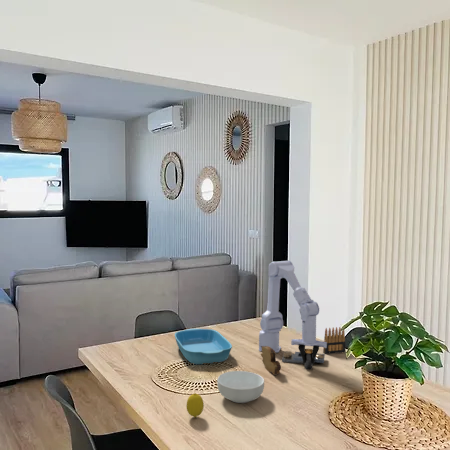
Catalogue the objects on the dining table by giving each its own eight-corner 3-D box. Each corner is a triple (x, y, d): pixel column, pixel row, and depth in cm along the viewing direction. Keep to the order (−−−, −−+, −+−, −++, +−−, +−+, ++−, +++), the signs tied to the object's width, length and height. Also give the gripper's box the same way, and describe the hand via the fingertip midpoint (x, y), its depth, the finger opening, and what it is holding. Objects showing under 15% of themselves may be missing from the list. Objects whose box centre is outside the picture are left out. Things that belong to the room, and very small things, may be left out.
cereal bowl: (249, 413, 149) (249, 392, 148) (207, 401, 158) (208, 381, 157) (272, 395, 163) (272, 376, 163) (233, 385, 172) (233, 366, 172)
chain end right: (293, 362, 196) (293, 356, 196) (295, 356, 204) (295, 350, 204) (323, 365, 193) (323, 358, 193) (324, 359, 201) (324, 352, 200)
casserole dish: (238, 364, 194) (238, 348, 194) (188, 370, 187) (188, 353, 187) (213, 340, 229) (213, 326, 229) (170, 344, 222) (170, 330, 222)
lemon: (186, 413, 148) (186, 390, 148) (203, 413, 149) (203, 389, 148) (186, 421, 143) (186, 397, 142) (203, 421, 143) (203, 396, 143)
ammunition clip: (343, 350, 212) (344, 325, 212) (345, 352, 211) (346, 326, 210) (323, 352, 210) (323, 327, 209) (325, 354, 208) (325, 328, 207)
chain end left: (281, 361, 198) (281, 354, 197) (284, 355, 205) (284, 349, 205) (311, 364, 194) (311, 357, 194) (313, 358, 202) (313, 351, 202)
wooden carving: (285, 377, 180) (285, 352, 179) (274, 378, 178) (275, 354, 178) (266, 363, 195) (266, 340, 195) (257, 365, 194) (257, 342, 193)
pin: (304, 369, 188) (304, 350, 188) (305, 366, 192) (305, 348, 191) (312, 370, 188) (312, 351, 187) (312, 367, 191) (313, 348, 190)
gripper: (290, 332, 187) (290, 364, 188) (326, 335, 183) (325, 367, 184) (292, 327, 194) (292, 358, 194) (327, 330, 190) (326, 361, 191)
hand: (308, 362), depth 190 cm, fingers closed on pin, 3 cm apart
